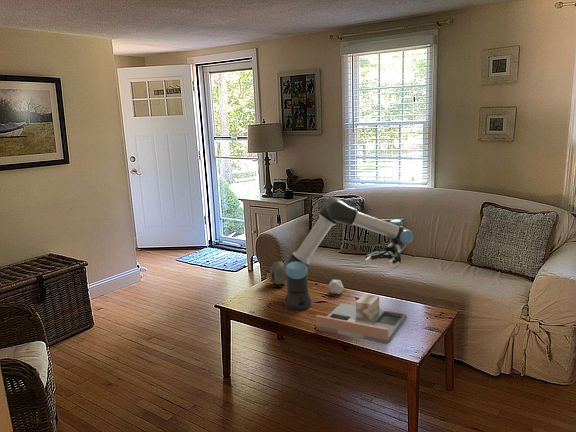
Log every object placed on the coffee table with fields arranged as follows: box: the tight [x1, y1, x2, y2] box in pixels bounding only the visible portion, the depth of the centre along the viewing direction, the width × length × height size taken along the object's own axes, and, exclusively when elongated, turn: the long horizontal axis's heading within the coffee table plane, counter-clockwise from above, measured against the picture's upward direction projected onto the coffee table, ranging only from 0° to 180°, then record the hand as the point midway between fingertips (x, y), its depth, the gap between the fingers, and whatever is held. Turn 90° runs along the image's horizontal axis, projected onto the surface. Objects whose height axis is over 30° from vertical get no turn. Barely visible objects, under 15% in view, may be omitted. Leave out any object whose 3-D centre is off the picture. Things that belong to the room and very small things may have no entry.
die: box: [327, 279, 344, 295], centre depth 269 cm, size 8×9×10 cm
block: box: [355, 293, 380, 319], centre depth 234 cm, size 8×12×8 cm, turn 149°
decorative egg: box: [269, 260, 287, 286], centre depth 288 cm, size 12×12×15 cm
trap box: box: [315, 302, 408, 345], centre depth 228 cm, size 36×30×7 cm
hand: (377, 263), depth 245 cm, fingers open, 13 cm apart
